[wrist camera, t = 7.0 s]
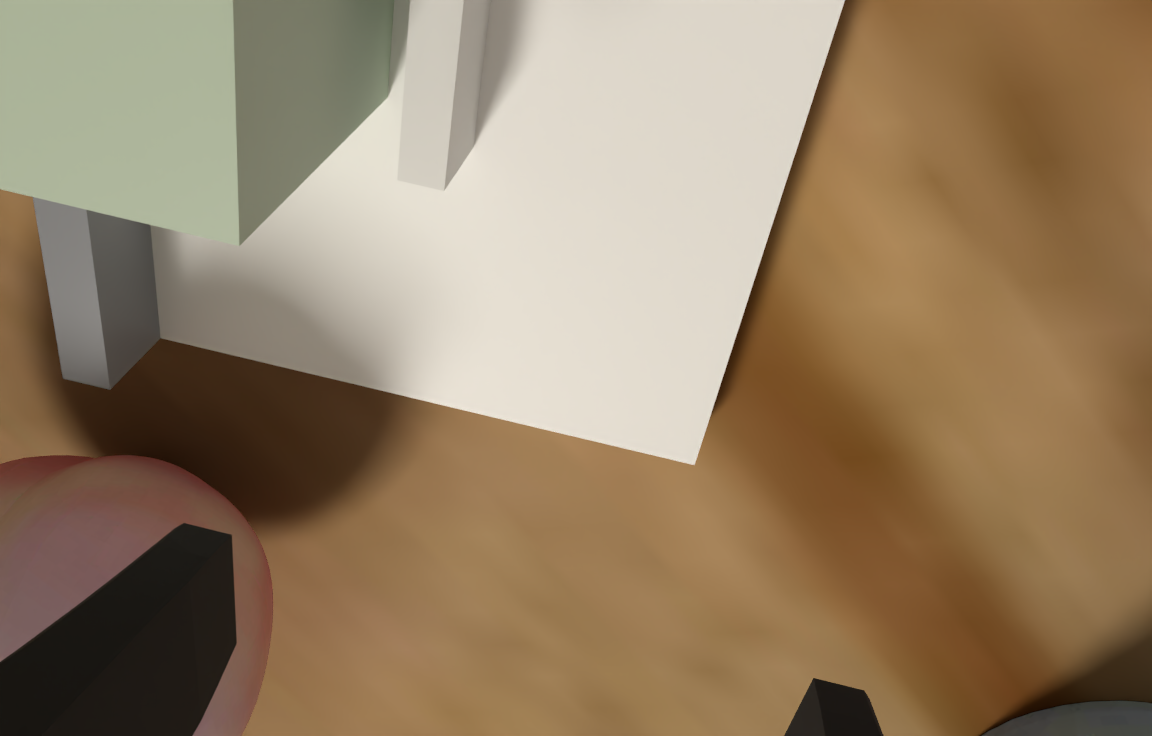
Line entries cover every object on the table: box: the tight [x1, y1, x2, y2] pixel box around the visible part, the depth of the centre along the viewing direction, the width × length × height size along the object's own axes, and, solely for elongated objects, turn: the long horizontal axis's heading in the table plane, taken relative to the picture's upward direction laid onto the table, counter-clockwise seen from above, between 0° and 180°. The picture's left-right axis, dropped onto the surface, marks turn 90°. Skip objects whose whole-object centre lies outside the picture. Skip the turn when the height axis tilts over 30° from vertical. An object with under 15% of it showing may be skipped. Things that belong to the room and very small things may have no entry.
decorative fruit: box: [0, 455, 273, 736], centre depth 21 cm, size 9×8×10 cm
